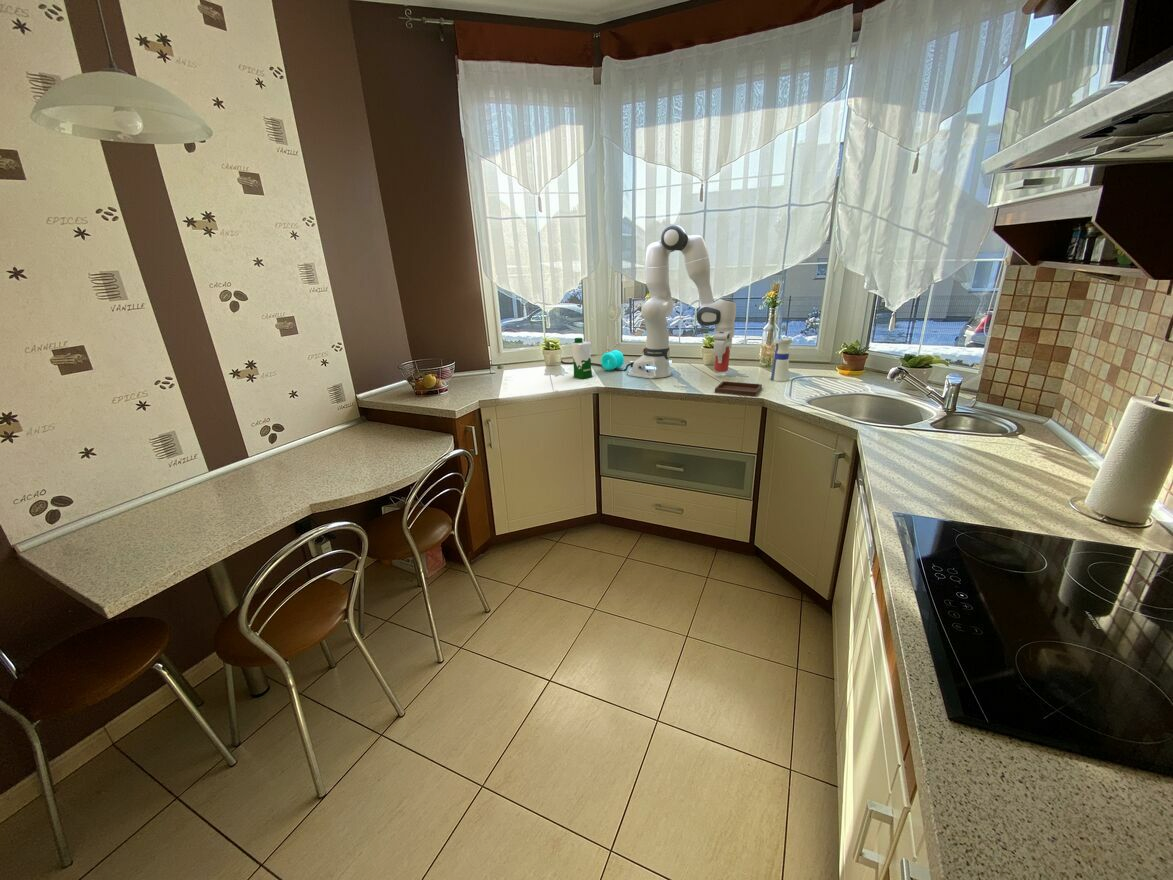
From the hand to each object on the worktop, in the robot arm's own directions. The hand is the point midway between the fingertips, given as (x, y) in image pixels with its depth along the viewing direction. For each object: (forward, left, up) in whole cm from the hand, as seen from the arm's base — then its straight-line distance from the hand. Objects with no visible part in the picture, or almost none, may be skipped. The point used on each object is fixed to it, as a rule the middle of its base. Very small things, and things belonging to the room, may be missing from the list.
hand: (722, 361), depth 236 cm
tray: (+14, -23, -8) cm, 28 cm away
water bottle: (+27, +3, -8) cm, 28 cm away
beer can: (0, 0, -5) cm, 5 cm away
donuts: (-59, -3, -8) cm, 60 cm away
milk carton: (-66, -24, -8) cm, 71 cm away
